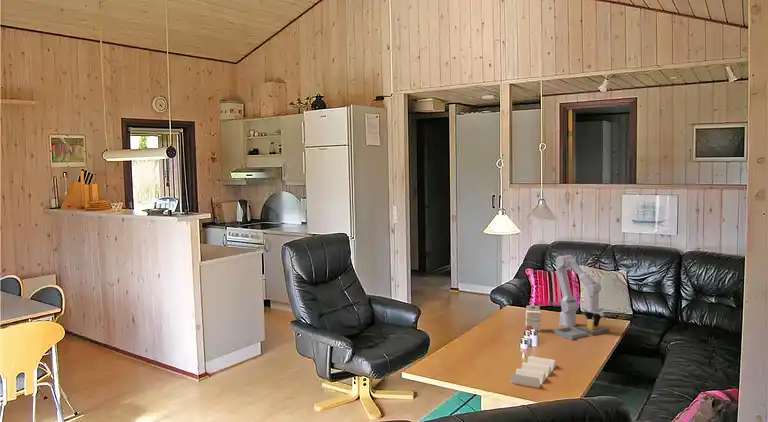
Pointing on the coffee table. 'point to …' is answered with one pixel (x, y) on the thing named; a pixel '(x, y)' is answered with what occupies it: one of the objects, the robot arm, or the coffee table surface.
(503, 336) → the coffee table surface
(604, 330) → the block
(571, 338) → the parts tray
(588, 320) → the block
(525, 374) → the file organizer
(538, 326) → the ink cartridge box
